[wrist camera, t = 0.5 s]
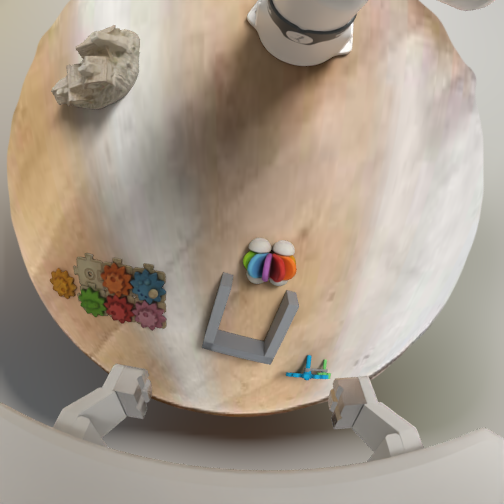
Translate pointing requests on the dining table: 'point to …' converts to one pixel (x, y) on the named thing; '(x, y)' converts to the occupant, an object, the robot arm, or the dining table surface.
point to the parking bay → (245, 345)
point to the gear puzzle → (116, 290)
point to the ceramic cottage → (101, 70)
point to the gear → (307, 371)
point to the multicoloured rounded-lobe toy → (270, 262)
